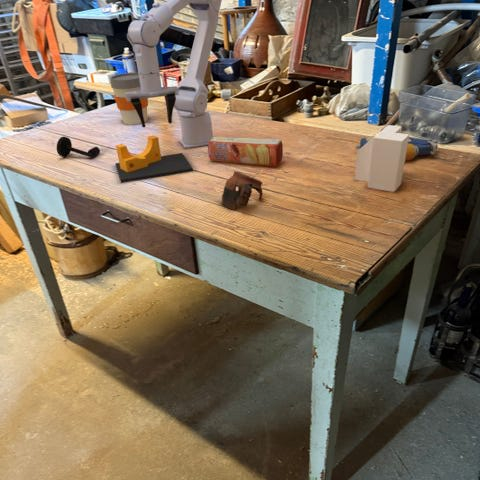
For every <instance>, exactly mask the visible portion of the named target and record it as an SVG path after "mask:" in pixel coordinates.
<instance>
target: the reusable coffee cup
mask: <svg viewBox="0 0 480 480" xmlns="http://www.w3.org/2000/svg"><path fill="white" fill-rule="evenodd" d="M109 79H110V87H111V89H112V91H113V97H114V100H115V104H116V108H117V109H118V110H119V113H120V116H121V119H122V123H123V124H124V125H139V124H142V123H141V120H140V118H139V115H138V113H137V111H136V109H135V108H134V106H133V105H132V103H131V101H127V100H126V95H125V93H126V92H132V91H137V90H141V86H140V80H139V74H138V72H125V73H120V74H119V73H118V74H115V75H113V76H110V78H109ZM139 100H140V102H141V104H142V112H143V117H144V121H145V123H146V122H147V121H148V106H149V98H146V99H139Z"/></svg>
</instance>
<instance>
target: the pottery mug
mask: <svg viewBox="0 0 480 480" xmlns="http://www.w3.org/2000/svg"><path fill="white" fill-rule="evenodd" d="M224 184H225V185H224V187H223V191H222V192H223V193H222V195H221V205H222V206H224V207H226V208H228V209H231V210H233V211H234V210H236V205H237V206H238V207H239V208H244V207H247V206H248V204H249V200H250V198H251V195H252V194H253V190H255V191H256V192H257V193H258V194H259V195H258V200H259V201H262V198H263V188H262V185H263V181H261V180H260V179H257V178H255V177H252V176H249V175H247V174H245V173H242V172H240V171H236V170H234V171H233V175H232V176H229V178H228V179H226V181H225V183H224Z"/></svg>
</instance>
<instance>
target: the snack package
mask: <svg viewBox="0 0 480 480" xmlns="http://www.w3.org/2000/svg"><path fill="white" fill-rule="evenodd" d="M207 155H208V158H209V159H210V161H212V162H226V163H236V164H245V165H247V164H248V165H259V166H268V167H278V166H279V165H280V164H281V163H282V161H283V157H284V145H283V141H282V140H281V139H280V138H276V139H275V138H274V139H273V138H251V137H250V138H249V137H231V136H230V137H229V136H225V137H224V136H213V138H212V139H211V140H210V141H209V143H208V145H207Z"/></svg>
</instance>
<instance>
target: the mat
mask: <svg viewBox="0 0 480 480" xmlns="http://www.w3.org/2000/svg"><path fill="white" fill-rule="evenodd" d="M115 168H116V170H117V174H118V178H119V180H120V183H127V182H133V181H140V180H147V179H152V178H159V177H165V176H171V175H176V174H183V173H188V172H193V171H194V168H193V167H192V165H191V163H190V162H189V160H188V159H187V158H186V156H185V155H184V154H183V152H180V153H173V154H165V155H161V160H160V161H156V162H153V163H150V164H148V167H144V168H141V169H138V170H134V171H131V172H126V171H124V170H122V169H121V168H120V163H119V162H115Z"/></svg>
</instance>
